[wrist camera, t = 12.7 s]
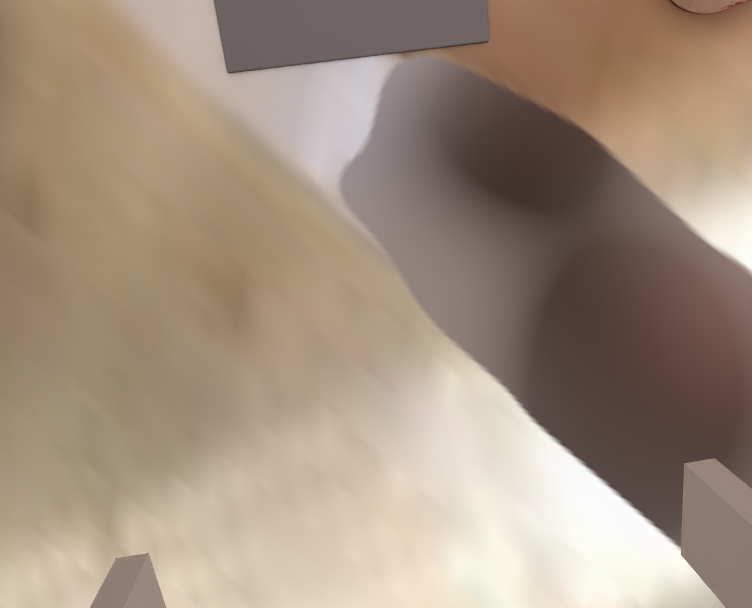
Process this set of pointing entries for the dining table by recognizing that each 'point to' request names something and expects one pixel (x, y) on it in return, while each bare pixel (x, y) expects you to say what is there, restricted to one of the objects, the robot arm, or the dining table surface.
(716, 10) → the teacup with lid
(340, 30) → the mat
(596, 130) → the dining table surface
